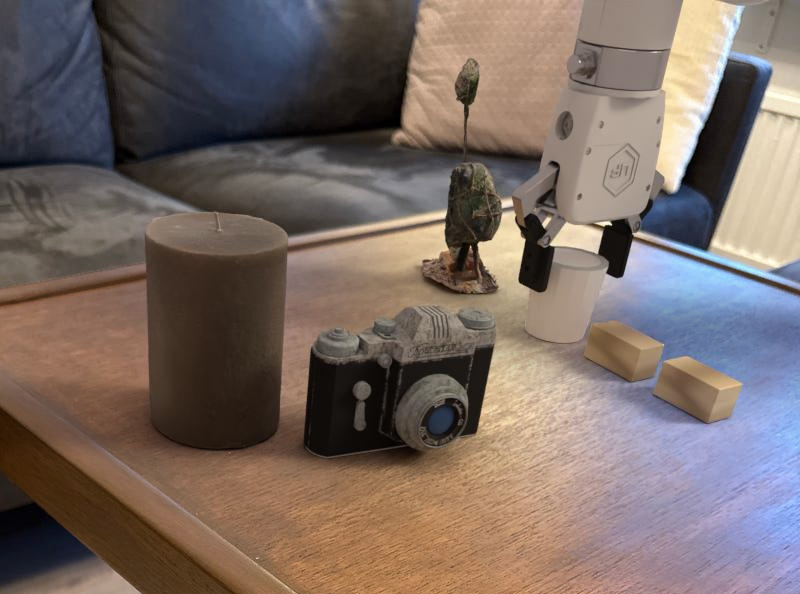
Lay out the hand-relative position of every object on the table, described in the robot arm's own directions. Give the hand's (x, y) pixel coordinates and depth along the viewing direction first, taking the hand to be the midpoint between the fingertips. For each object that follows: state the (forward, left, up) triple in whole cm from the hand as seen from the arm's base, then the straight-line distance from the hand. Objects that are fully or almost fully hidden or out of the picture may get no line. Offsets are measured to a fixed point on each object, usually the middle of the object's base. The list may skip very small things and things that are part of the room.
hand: (570, 280), depth 91 cm
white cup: (0, 0, -5) cm, 5 cm away
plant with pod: (+7, -12, -5) cm, 15 cm away
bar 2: (-8, +15, -5) cm, 17 cm away
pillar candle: (+32, +21, -5) cm, 39 cm away
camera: (+18, +24, -5) cm, 31 cm away
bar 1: (-4, +8, -5) cm, 10 cm away
